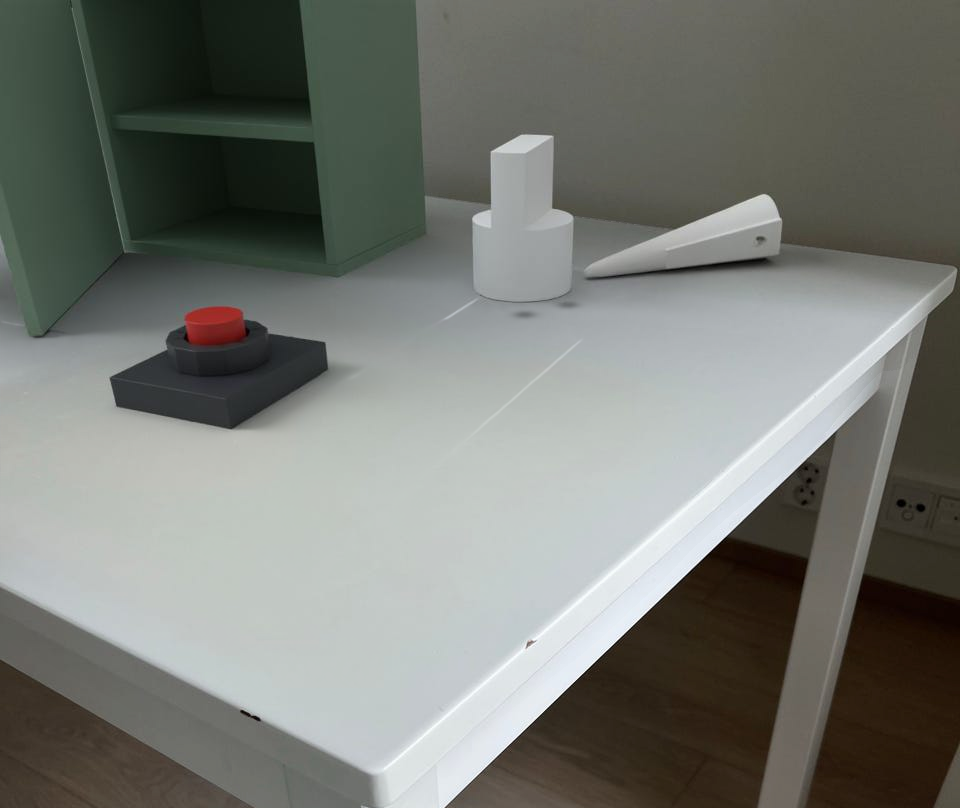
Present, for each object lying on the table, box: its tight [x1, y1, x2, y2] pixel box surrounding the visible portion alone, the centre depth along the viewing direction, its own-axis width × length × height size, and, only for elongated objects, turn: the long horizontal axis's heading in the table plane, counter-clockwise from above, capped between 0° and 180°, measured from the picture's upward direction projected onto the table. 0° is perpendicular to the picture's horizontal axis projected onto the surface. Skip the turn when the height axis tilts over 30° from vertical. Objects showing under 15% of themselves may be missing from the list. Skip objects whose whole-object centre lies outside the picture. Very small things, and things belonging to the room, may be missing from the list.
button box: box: [109, 319, 329, 430], centre depth 72 cm, size 12×10×4 cm
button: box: [184, 305, 246, 345], centre depth 70 cm, size 4×4×2 cm
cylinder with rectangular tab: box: [471, 134, 575, 303], centre depth 89 cm, size 9×9×12 cm
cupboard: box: [70, 0, 427, 278], centre depth 100 cm, size 18×26×24 cm
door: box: [0, 0, 125, 337], centre depth 86 cm, size 7×26×24 cm, turn 2°
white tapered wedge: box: [583, 193, 783, 278], centre depth 96 cm, size 6×6×19 cm
